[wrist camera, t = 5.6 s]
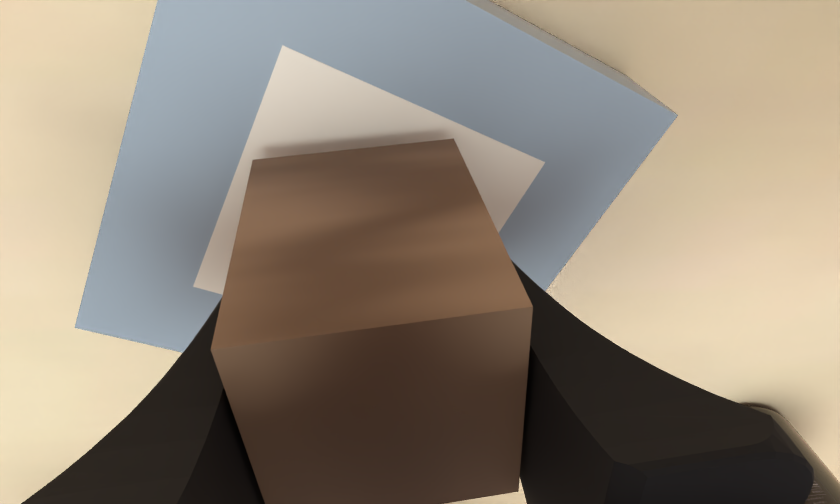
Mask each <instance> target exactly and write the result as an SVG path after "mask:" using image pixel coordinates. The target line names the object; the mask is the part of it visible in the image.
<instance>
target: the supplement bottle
mask: <svg viewBox="0 0 840 504" xmlns="http://www.w3.org/2000/svg"><path fill="white" fill-rule="evenodd" d="M747 407H750V408H752V409H755V410H758V411H760V412H763V413H766V414H768V415H771V416H772V418H773V419H774V420H775V421H776V422H777V423H778V424H779V425H780V426H781V428H782V429H783V430H784V431H785V432H786V433H787V434H788V436H789V437H790V438H791V440H792V441H793V442H794V444H795V445H796V446H797V448H798V449H799V450H800V452H801V453H802V454H803V456H804V457H805V458H806V460H807V461H808V462H809V463H810V465H811V466H812V467H813V469H814V483H813V486H812V489H811V491H810V494H809V496H808V498H807V500H806V501H805V503H804V504H840V482H839V481H838V480H837V479H836V478H835V476H834V475H833V474H832V473H831V471H830V470H829V469H828V468H827V467H826V465H825V464H824V463H823V462H822V461H821V459H820V458H819V457H818V456H817V455H816V453H815V452H814V451H813V450H812V449H811V447H810V446H809V445H808V444H807V443H806V441H805V440H804V439H803V438H802V437H801V436H800V435H799V433H798V432H797V431H796V430H795V429H794V427H793V426H792V425H791V424H790V423H789V422H788V421H787V420H786V419H785V418H784V417H783V416H782V415H780V414H779V413H777V412H775V411H772V410H770V409H767V408H763V407H758V406H747Z"/></svg>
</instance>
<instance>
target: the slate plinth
mask: <svg viewBox="0 0 840 504" xmlns="http://www.w3.org/2000/svg"><path fill="white" fill-rule="evenodd" d="M677 116H678V115H677V114H676V113H675V112H673V111H672V110H671V109H669V108H668V107H667V106H665V105H664V104H663V103H661V102H660V101H659V100H658V99H656V98H655V97H654V96H652V95H651V94H650V93H648V92H647V91H646V90H644V89H643V88H642V87H640V86H639V85H638V84H637V83H635V82H634V81H633V80H631V79H630V78H629V77H627V76H626V75H624V74H622V73H620V72H618V71H617V70H615V69H613V68H611V67H609V66H607V65H606V64H604V63H602V62H600V61H598V60H597V59H595V58H593V57H591V56H589V55H587V54H586V53H584V52H582V51H580V50H578V49H577V48H575V47H573V46H571V45H569V44H567V43H566V42H564V41H562V40H560V39H558V38H557V37H555V36H553V35H551V34H549V33H547V32H546V31H544V30H542V29H540V28H538V27H537V26H535V25H533V24H531V23H529V22H527V21H526V20H524V19H522V18H520V17H518V16H517V15H515V14H513V13H511V12H509V11H507V10H506V9H504V8H502V7H500V6H498V5H497V4H495V3H493V2H491V1H489V0H158V1H157V5H156V9H155V13H154V17H153V21H152V25H151V29H150V33H149V37H148V41H147V45H146V49H145V53H144V56H143V60H142V64H141V68H140V72H139V76H138V80H137V84H136V88H135V92H134V96H133V100H132V104H131V108H130V112H129V116H128V120H127V123H126V127H125V131H124V135H123V139H122V143H121V147H120V151H119V155H118V159H117V163H116V167H115V171H114V175H113V179H112V183H111V187H110V190H109V194H108V198H107V202H106V206H105V210H104V214H103V218H102V222H101V226H100V230H99V234H98V238H97V242H96V246H95V250H94V254H93V257H92V261H91V265H90V269H89V273H88V277H87V281H86V285H85V289H84V293H83V297H82V301H81V305H80V309H79V313H78V317H77V320H76V324H75V328H78V329H82V330H87V331H91V332H95V333H100V334H104V335H109V336H113V337H117V338H122V339H126V340H130V341H135V342H139V343H143V344H148V345H152V346H156V347H161V348H165V349H170V350H174V351H178V352H184V351H185V349H186V348H187V347H188V345H189V344H190V343H191V341H192V340H193V339H194V337H195V336H196V334H197V333H198V332H199V330H200V329H201V327H202V326H203V325H204V323H205V322H206V320H207V319H208V317H209V316H210V314H211V313H212V311H213V310H214V308H215V307H216V305H217V304H218V302H219V301H220V299H221V298H222V296H223V291H224V287H225V282H226V278H227V273H228V269H229V264H230V260H231V255H232V251H233V246H234V242H235V237H236V233H237V228H238V224H239V219H240V215H241V210H242V206H243V201H244V197H245V192H246V188H247V183H248V179H249V174H250V170H251V165H252V161H253V160H255V159H265V158H274V157H283V156H293V155H302V154H312V153H321V152H331V151H340V150H350V149H359V148H368V147H378V146H387V145H397V144H406V143H416V142H425V141H435V140H444V139H453V138H454V140H455V142H456V144H457V146H458V149H459V151H460V153H461V155H462V157H463V159H464V161H465V163H466V166H467V168H468V170H469V172H470V174H471V176H472V178H473V180H474V183H475V185H476V187H477V189H478V191H479V193H480V195H481V197H482V200H483V202H484V204H485V206H486V208H487V210H488V212H489V214H490V217H491V219H492V221H493V223H494V225H495V227H496V229H497V231H498V233H499V236H500V238H501V240H502V242H503V244H504V246H505V248H506V250H507V253H508V255H509V257H510V259H511V260H512V261H513V262H514V263H515V264H516V265H517V266H518V267H519V268H520V269H521V270H522V271H523V272H524V273H525V274H526V275H528V276H529V277H530V278H531V279H532V280H533V281H534V282H535V283H536V284H537V285H538V286H539V287H541V288H542V289H543V290H544V291H546V289H547V288H548V287H549V285H550V284H551V283H552V281H553V280H554V279H555V277H556V276H557V275H558V273H559V272H560V271H561V269H562V268H563V267H564V265H565V264H566V263H567V261H568V260H569V259H570V257H571V256H572V255H573V254H574V252H575V251H576V250H577V248H578V247H579V246H580V244H581V243H582V242H583V240H584V239H585V238H586V236H587V235H588V234H589V232H590V231H591V230H592V228H593V227H594V226H595V224H596V223H597V222H598V220H599V219H600V218H601V216H602V215H603V214H604V213H605V211H606V210H607V209H608V207H609V206H610V205H611V203H612V202H613V201H614V199H615V198H616V197H617V195H618V194H619V193H620V191H621V190H622V189H623V187H624V186H625V185H626V183H627V182H628V181H629V179H630V178H631V177H632V175H633V174H634V173H635V171H636V170H637V169H638V168H639V166H640V165H641V164H642V162H643V161H644V160H645V158H646V157H647V156H648V154H649V153H650V152H651V150H652V149H653V148H654V146H655V145H656V144H657V142H658V141H659V140H660V138H661V137H662V136H663V134H664V133H665V132H666V130H667V129H668V128H669V126H670V125H671V124H672V123H673V121H674V120H675V119H676V117H677Z"/></svg>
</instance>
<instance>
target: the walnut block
mask: <svg viewBox="0 0 840 504" xmlns="http://www.w3.org/2000/svg"><path fill="white" fill-rule="evenodd" d="M532 313H533V306H532V303H531V301H530V299H529V297H528V295H527V293H526V291H525V289H524V287H523V284H522V282H521V280H520V278H519V276H518V274H517V272H516V270H515V267H514V265H513V263H512V261H511V259H510V257H509V255H508V253H507V250H506V248H505V246H504V244H503V242H502V240H501V238H500V236H499V233H498V231H497V229H496V227H495V225H494V223H493V221H492V219H491V217H490V214H489V212H488V210H487V208H486V206H485V204H484V202H483V200H482V197H481V195H480V193H479V191H478V189H477V187H476V185H475V183H474V180H473V178H472V176H471V174H470V172H469V170H468V168H467V166H466V163H465V161H464V159H463V157H462V155H461V153H460V151H459V149H458V146H457V144H456V142H455V140H454V138H453V139H444V140H435V141H425V142H416V143H406V144H397V145H387V146H378V147H368V148H359V149H350V150H340V151H331V152H321V153H312V154H302V155H293V156H283V157H274V158H265V159H255V160H253V161H252V165H251V170H250V174H249V179H248V183H247V188H246V192H245V197H244V201H243V206H242V210H241V215H240V219H239V224H238V228H237V233H236V237H235V242H234V246H233V251H232V255H231V260H230V264H229V269H228V273H227V278H226V282H225V287H224V291H223V296H222V300H221V305H220V309H219V314H218V318H217V323H216V327H215V332H214V336H213V341H212V345H211V352H212V355H213V358H214V361H215V363H216V366H217V369H218V372H219V375H220V378H221V380H222V383H223V386H224V389H225V392H226V395H227V397H228V400H229V403H230V406H231V409H232V412H233V414H234V417H235V420H236V423H237V426H238V429H239V431H240V434H241V437H242V440H243V443H244V445H245V448H246V451H247V454H248V457H249V460H250V462H251V465H252V468H253V471H254V474H255V477H256V479H257V482H258V485H259V488H260V491H261V494H262V496H263V499H264V502H265V504H444V503H450V502H456V501H462V500H468V499H475V498H481V497H487V496H493V495H499V494H506V493H512V492H518V489H519V477H520V464H521V452H522V439H523V426H524V414H525V401H526V388H527V376H528V363H529V350H530V338H531V325H532Z"/></svg>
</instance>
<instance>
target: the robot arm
mask: <svg viewBox="0 0 840 504" xmlns="http://www.w3.org/2000/svg"><path fill="white" fill-rule="evenodd" d="M511 261H512V260H511ZM512 263H513V265H514V267H515V270H516V272H517V274H518V276H519V278H520V280H521V282H522V284H523V287H524V289H525V291H526V293H527V295H528V297H529V299H530V301H531V303H532V306H533V313H532V325H531V338H530V350H529V363H528V376H527V388H526V401H525V414H524V426H523V439H522V452H521V464H520V479H521V483H522V486H523V490H524V494H525V498H526V502H527V504H804V503H805V501H806V500H807V498H808V496H809V494H810V491H811V489H812V486H813V483H814V469H813V467H812V466H811V465H810V463H809V462H808V461H807V460H806V458H805V457H804V456H803V454H802V453H801V452H800V450H799V449H798V448H797V446H796V445H795V444H794V442H793V441H792V440H791V438H790V437H789V436H788V434H787V433H786V432H785V431H784V430H783V429H782V428H781V426H780V425H779V424H778V423H777V422H776V421H775V420H774V419H773V418H772V416H771V415H768V414H766V413H763V412H760V411H758V410H755V409H752V408H750V407H747V406H744V405H742V404H739V403H736V402H734V401H731V400H728V399H726V398H723V397H720V396H717V395H715V394H713V393H710V392H708V391H706V390H703V389H701V388H699V387H697V386H695V385H692V384H690V383H688V382H686V381H683V380H681V379H679V378H677V377H675V376H673V375H671V374H669V373H667V372H665V371H663V370H661V369H659V368H657V367H655V366H653V365H651V364H649V363H648V362H646V361H644V360H642V359H640V358H638V357H637V356H635V355H633V354H631V353H629V352H628V351H626V350H624V349H623V348H621V347H619V346H618V345H616V344H615V343H613V342H611V341H610V340H608V339H607V338H605V337H604V336H602V335H601V334H599V333H598V332H596V331H595V330H593V329H592V328H590V327H589V326H587V325H586V324H585V323H583V322H582V321H580V320H579V319H578V318H577V317H575V316H574V315H573V314H571V313H570V312H569V311H568V310H566V309H565V308H564V307H563V306H561V305H560V304H559V303H558V302H557V301H555V300H554V299H553V298H552V297H551V296H550V295H549V294H547V293H546V292H545V291H544V290H543V289H542V288H541V287H539V286H538V285H537V284H536V283H535V282H534V281H533V280H532V279H531V278H530V277H529V276H528V275H526V274H525V273H524V272H523V271H522V270H521V269H520V268H519V267H518V266H517V265H516V264H515V263H514V262H513V261H512ZM221 300H222V298H221V299H220V301H219V302H218V304H217V305H216V307H215V308H214V310H213V311H212V313H211V314H210V316H209V317H208V319H207V320H206V322H205V323H204V325H203V326H202V327H201V329H200V330H199V332H198V333H197V334H196V336H195V337H194V339H193V340H192V341H191V343H190V344H189V345H188V347H187V348H186V349H185V351H184V352H183V353H182V354H181V356H180V357H179V358H178V359H177V361H176V362H175V363H174V364H173V366H172V367H171V368H170V369H169V371H168V372H167V373H166V374H165V376H164V377H163V378H162V379H161V380H160V382H159V383H158V384H157V385H156V386H155V387H154V388H153V389H152V391H151V392H150V393H149V394H148V395H147V396H146V397H145V398H144V399H143V400H142V401H141V402H140V403H139V405H138V406H137V407H136V408H135V409H134V410H133V411H132V412H131V413H130V414H129V415H128V416H127V417H126V418H125V419H123V420H122V421H121V422H120V423H119V424H118V425H117V426H116V427H115V428H114V429H112V430H111V431H110V432H109V433H108V434H107V435H106V436H105V437H104V438H103V439H101V440H100V441H99V442H98V443H97V444H96V445H95V446H94V447H93V448H92V449H91V450H89V451H88V452H87V453H86V454H85V455H83V456H82V457H81V458H80V459H79V460H77V461H76V462H75V463H74V464H72V465H71V466H70V467H69V468H68V469H66V470H65V471H64V472H63V473H61V474H60V475H59V476H57V477H56V478H55V479H54V480H52V481H51V482H50V483H48V484H47V485H46V486H44V487H43V488H42V489H41V490H39V491H38V492H36V493H35V494H34V495H32V496H31V497H30V498H28V499H27V500H26V501H24V502H23V503H21V504H265V502H264V499H263V496H262V494H261V491H260V488H259V485H258V482H257V479H256V477H255V474H254V471H253V468H252V465H251V462H250V460H249V457H248V454H247V451H246V448H245V445H244V443H243V440H242V437H241V434H240V431H239V429H238V426H237V423H236V420H235V417H234V414H233V412H232V409H231V406H230V403H229V400H228V397H227V395H226V392H225V389H224V386H223V383H222V380H221V378H220V375H219V372H218V369H217V366H216V363H215V361H214V358H213V355H212V352H211V345H212V341H213V336H214V332H215V327H216V323H217V318H218V314H219V309H220V305H221Z"/></svg>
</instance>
